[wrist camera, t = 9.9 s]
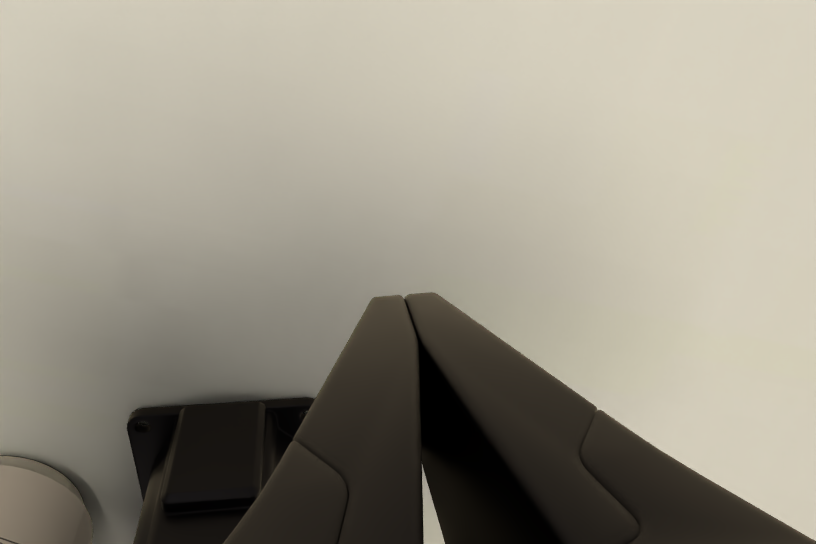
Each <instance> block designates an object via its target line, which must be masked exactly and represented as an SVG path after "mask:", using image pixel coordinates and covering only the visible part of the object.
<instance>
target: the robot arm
mask: <svg viewBox="0 0 816 544" xmlns="http://www.w3.org/2000/svg"><path fill="white" fill-rule="evenodd" d="M303 411H308V413H307V414H303V413H302V412H303ZM138 422H146V423H148V424H149V425H141V424H139V423H138ZM127 431H128V435H129V440H130V444H131V448H132V453H133V457H134V462H135V466H136V471H137V475H138V479H139V484H140V488H141V493H142V497H143V502H144V503H143V507H142V511H141V515H140V519H139V523H138V527H137V531H136V535H135V539H134V543H133V544H424V542H423V497H422V464H423V468H424V472H425V476H426V479H427V483H428V486H429V490H430V493H431V496H432V500H433V503H434V507H435V510H436V513H437V517H438V520H439V524H440V527H441V530H442V534H443V537H444V541H445V544H816V541H815V540H813V539H811V538H809V537H807V536H805V535H804V534H802V533H800V532H798V531H797V530H795V529H793V528H792V527H790V526H788V525H786V524H785V523H783V522H781V521H779V520H778V519H776V518H774V517H773V516H771V515H769V514H767V513H766V512H764V511H762V510H760V509H759V508H757V507H755V506H754V505H752V504H750V503H748V502H747V501H745V500H743V499H741V498H740V497H738V496H736V495H735V494H733V493H731V492H729V491H728V490H726V489H724V488H722V487H721V486H719V485H717V484H716V483H714V482H712V481H710V480H709V479H707V478H705V477H703V476H702V475H700V474H698V473H697V472H695V471H693V470H692V469H690V468H688V467H687V466H685V465H684V464H682V463H680V462H679V461H677V460H675V459H674V458H672V457H670V456H669V455H667V454H665V453H664V452H662V451H660V450H659V449H657V448H656V447H654V446H653V445H651V444H650V443H648V442H647V441H645V440H644V439H642V438H641V437H639V436H638V435H636V434H635V433H633V432H632V431H630V430H629V429H627V428H626V427H624V426H623V425H622V424H620V423H619V422H617V421H616V420H615V419H613V418H612V417H610V416H609V415H607V414H606V413H605V412H603V411H602V410H598V411H597V408H596V406H594V405H593V404H592V403H590V402H589V401H587V400H586V399H585V398H583V397H582V396H580V395H579V394H577V393H576V392H575V391H573V390H572V389H570V388H569V387H568V386H566V385H565V384H563V383H562V382H561V381H559V380H558V379H556V378H555V377H553V376H552V375H551V374H549V373H548V372H546V371H545V370H544V369H542V368H541V367H539V366H538V365H537V364H535V363H534V362H532V361H531V360H529V359H528V358H527V357H525V356H524V355H522V354H521V353H520V352H518V351H517V350H515V349H514V348H513V347H511V346H510V345H508V344H507V343H506V342H504V341H503V340H501V339H500V338H498V337H497V336H496V335H494V334H493V333H491V332H490V331H489V330H487V329H486V328H484V327H483V326H482V325H480V324H479V323H477V322H476V321H474V320H473V319H472V318H470V317H469V316H467V315H466V314H465V313H463V312H462V311H460V310H459V309H458V308H456V307H455V306H453V305H452V304H451V303H449V302H448V301H446V300H445V299H443V298H442V297H441V296H439V295H438V294H436V293H432V292H431V293H419V294H409V295H407V296H406V297H405V299H404V298H403V297H402V296H400V295H394V296H381V297H374V298H373V299H372V300H371V301H370V303H369V305H368V306H367V308H366V310H365V312H364V313H363V315H362V317H361V319H360V321H359V322H358V324H357V326H356V328H355V329H354V331H353V333H352V335H351V337H350V338H349V340H348V342H347V344H346V345H345V347H344V349H343V351H342V352H341V354H340V356H339V358H338V360H337V361H336V363H335V365H334V367H333V368H332V370H331V372H330V374H329V376H328V377H327V379H326V381H325V383H324V384H323V386H322V388H321V390H320V392H319V393H318V395H317V397H316V399H313V398H293V399H278V400H262V401H247V402H232V403H216V404H201V405H186V406H170V407H155V408H142V409H137V410H135V411H134V412H132V414H131V415H130V417H129V420H128V423H127Z"/></svg>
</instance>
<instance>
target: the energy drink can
mask: <svg viewBox="0 0 816 544" xmlns="http://www.w3.org/2000/svg"><path fill="white" fill-rule="evenodd" d="M92 537H93V526H92V521H91V517H90V515H89V513H88V511H87V509H86V507H85V506H84V505H83V500H82V498H81V495H80V493H79V491H78V490H77V488H76V487H75V486H74V485H73V484H72V482H71V481H70V480H68V479H67V478H66V477H65V476H64V475H62V474H61V473H60V472H58V471H56V470H54V469H53V468H51V467H49V466H47V465H44V464H42V463H39V462H37V461H33V460H29V459H25V458H21V457H12V456H0V544H91V543H92Z"/></svg>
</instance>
